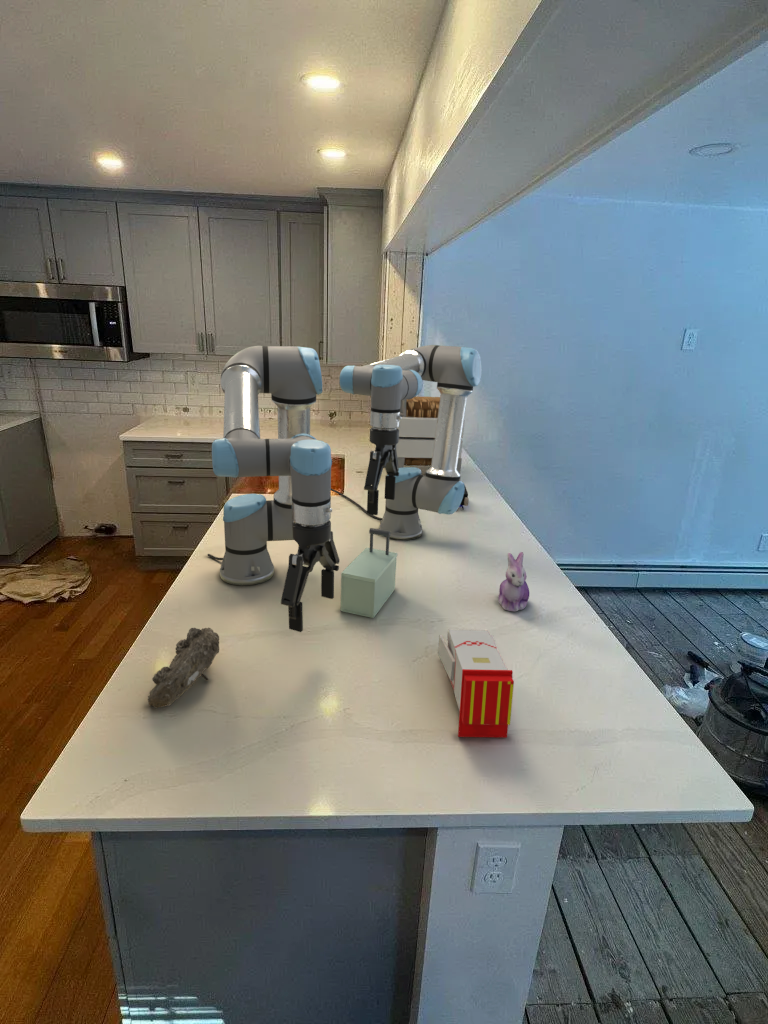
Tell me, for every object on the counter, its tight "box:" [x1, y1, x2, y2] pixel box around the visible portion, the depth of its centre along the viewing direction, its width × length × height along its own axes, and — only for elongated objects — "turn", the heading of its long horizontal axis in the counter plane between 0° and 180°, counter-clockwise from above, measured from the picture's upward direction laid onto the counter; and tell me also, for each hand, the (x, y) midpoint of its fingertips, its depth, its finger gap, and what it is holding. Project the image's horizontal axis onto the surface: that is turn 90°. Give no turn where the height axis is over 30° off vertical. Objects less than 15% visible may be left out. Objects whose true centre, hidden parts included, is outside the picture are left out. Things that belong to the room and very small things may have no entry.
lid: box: [340, 527, 398, 583], centre depth 149 cm, size 18×9×8 cm, turn 161°
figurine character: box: [459, 486, 470, 511], centre depth 230 cm, size 7×8×15 cm
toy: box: [437, 628, 515, 738], centre depth 117 cm, size 12×13×30 cm
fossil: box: [147, 627, 220, 709], centre depth 117 cm, size 22×10×15 cm
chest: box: [340, 556, 398, 619], centre depth 152 cm, size 17×9×10 cm, turn 161°
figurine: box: [497, 551, 530, 612], centre depth 152 cm, size 9×10×15 cm
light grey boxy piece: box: [396, 395, 465, 475], centre depth 268 cm, size 34×33×41 cm
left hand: (312, 612), depth 119 cm, fingers open, 13 cm apart
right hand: (381, 506), depth 152 cm, fingers open, 13 cm apart
